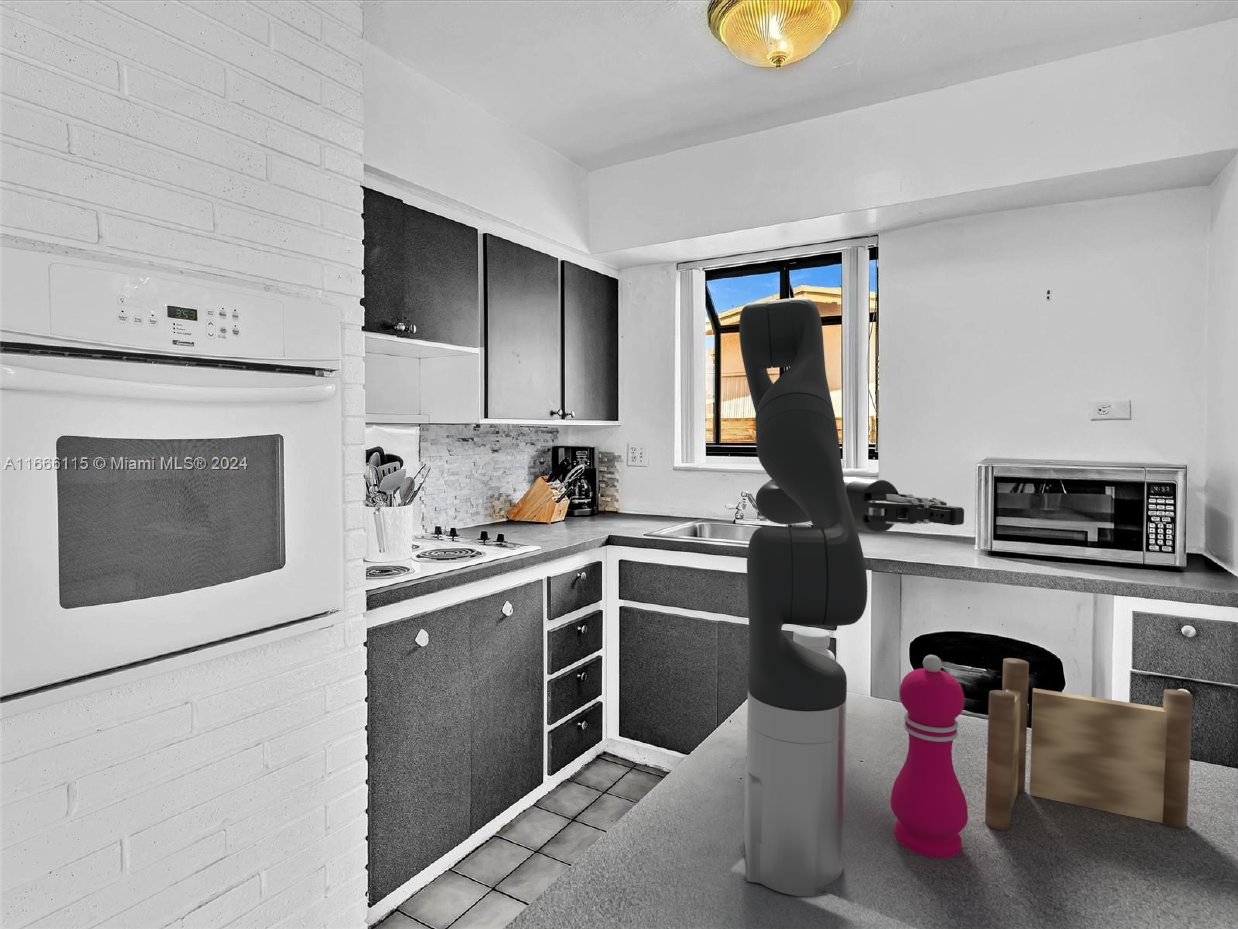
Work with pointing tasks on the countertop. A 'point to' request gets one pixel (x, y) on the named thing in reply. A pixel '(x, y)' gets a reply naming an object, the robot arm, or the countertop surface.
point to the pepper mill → (930, 764)
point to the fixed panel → (1006, 743)
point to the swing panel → (1113, 754)
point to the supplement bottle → (814, 640)
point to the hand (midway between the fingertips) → (960, 516)
